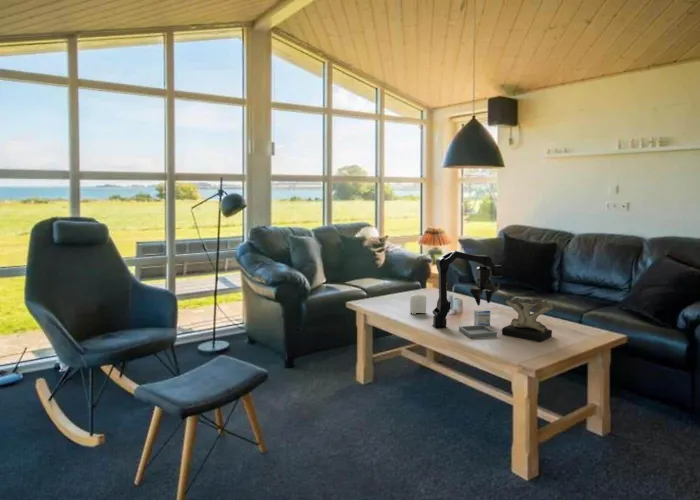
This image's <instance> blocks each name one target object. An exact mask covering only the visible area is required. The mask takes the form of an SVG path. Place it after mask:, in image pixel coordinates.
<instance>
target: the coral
mask: <svg viewBox="0 0 700 500" xmlns="http://www.w3.org/2000/svg"><path fill="white" fill-rule="evenodd" d="M504 302H505V303H506V304H507V306H509V307H511V308H512V310H514V311H515V312H516V313H517V314H518V315H517V318H513V319H512V320H511V321H510V324H508V325H506V326H504V327H503V328H501V335H502V336H506V337H511V338H517V339H520V340H526V341H530V340H531V341H532V342H535V341H536V342H537V343H540V342H541V343H543V342H545V341H546V340H549V339H550V338H552V336H553V335H552V334H553V330H552V329H549V328H548V327H547V326H546V325H544V324H542V323H541V322H540V321H537V319H538V317H539V316H541V315H543V314H545V313H547V312H550V311H551V310H553V308H554V307H553V304H552V303H548V300H547V299H545V300H544V301H543V298H532V299H529V298H528V299H527V298H526V299H524V300H522V298H521V299H520V298H519V297H515V298H513V300H511V299H509V298H507V299H506V301H504ZM532 309H533V313H531V310H532ZM531 341H530V342H531Z"/></svg>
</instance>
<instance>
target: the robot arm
mask: <svg viewBox="0 0 700 500" xmlns="http://www.w3.org/2000/svg"><path fill="white" fill-rule="evenodd" d="M457 259H458V260H465V261H470V262H474V263H477V264H478V266H477V267H476V268H475V269H476V270H478V271H479V275H478V276H479V277H478V278H477V281H478V282H479V283H478V285H477V287H471V288H470V290H469V293H470V294H471V295H472V296H473V298H474V300H475V302H476V304H477V306H480V304H481V299H482V298H481V297H482V296H483V295H484V294H483V292H485V298H486V303H487V304H490V303H491V299H492V297H493V295H494V294H495V293H497V292H498V290H499V289H500V288H501V287H500V286H501V284H500V282H498V281H497V282H493V281H492V279H491V277H492V278H502V277H504V275H505V272H504V268H503V265H501V264H498V265H495V264H494V263H493V261H492V260H493V259H492V258H491V256H488V255H486V254H470V253H468V252H467V253H466V252H461V251H457V250H454V249H453V250H451V251H450V252H448V253H446V254H444V255H442V256H439V257H437V258H436V260H435V266H436V269H437V272H438V299H437V302H436V307H435V308H434V309H433V310H432V314H433V324H432V326H433V327H434V328H435V329H445V328H446V329H447V328H448V327H447V316H448V314H449V313H450V311H451V310H452V308H451V303H452V302H451V301H450V300H449V299H448V291H447V290H448V287H447V286H448V284H447V283H448V279H447V277H448V276H447V275H448V271H449V267H450V264H452V263H453V262H455V260H457ZM481 265H482V266H481Z"/></svg>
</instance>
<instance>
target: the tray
mask: <svg viewBox="0 0 700 500" xmlns="http://www.w3.org/2000/svg"><path fill="white" fill-rule="evenodd" d="M458 332H460V333H461V334H463V335H464V336H466V337H467V338H468V339H471V340H472V339H484V338H496V337H497V336H498V332H497V331H495V330H494V329H492V328H490V327H489V326H485V325H465V326H459V325H458Z"/></svg>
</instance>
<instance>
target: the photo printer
mask: <svg viewBox="0 0 700 500" xmlns="http://www.w3.org/2000/svg"><path fill="white" fill-rule="evenodd" d="M409 304H410V305H409V314H410V313H412V314H411V315H417V314H416V313H426V314H427V296H426V295H425V294H423V293H416V294H412V295H410V297H409Z"/></svg>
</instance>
